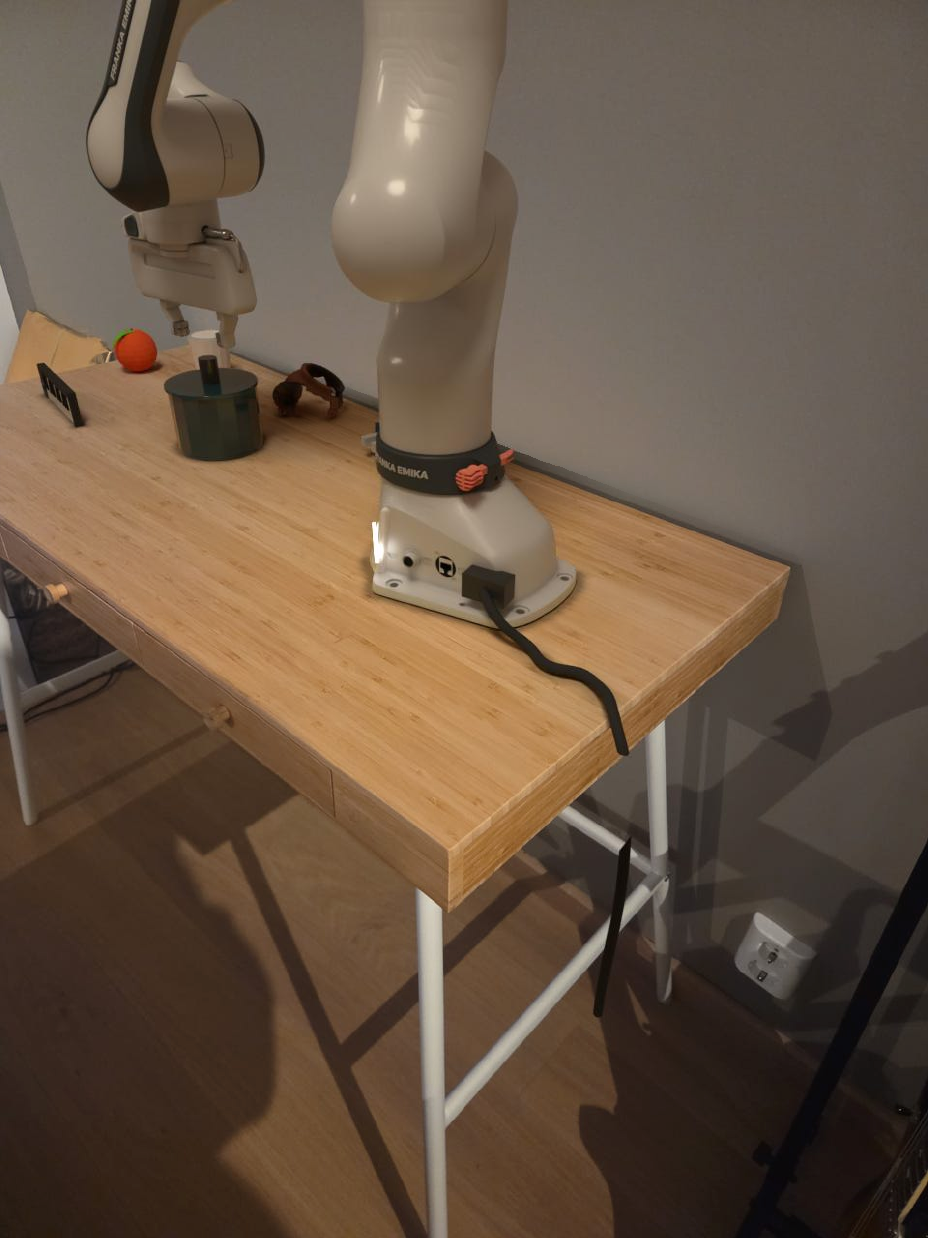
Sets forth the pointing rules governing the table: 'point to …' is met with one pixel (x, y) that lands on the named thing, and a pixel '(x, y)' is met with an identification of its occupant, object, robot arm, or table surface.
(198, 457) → the tin
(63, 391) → the midi keyboard
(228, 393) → the lid
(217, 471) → the table surface
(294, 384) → the brown arched strap
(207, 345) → the cream white cylinder
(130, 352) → the clementine
